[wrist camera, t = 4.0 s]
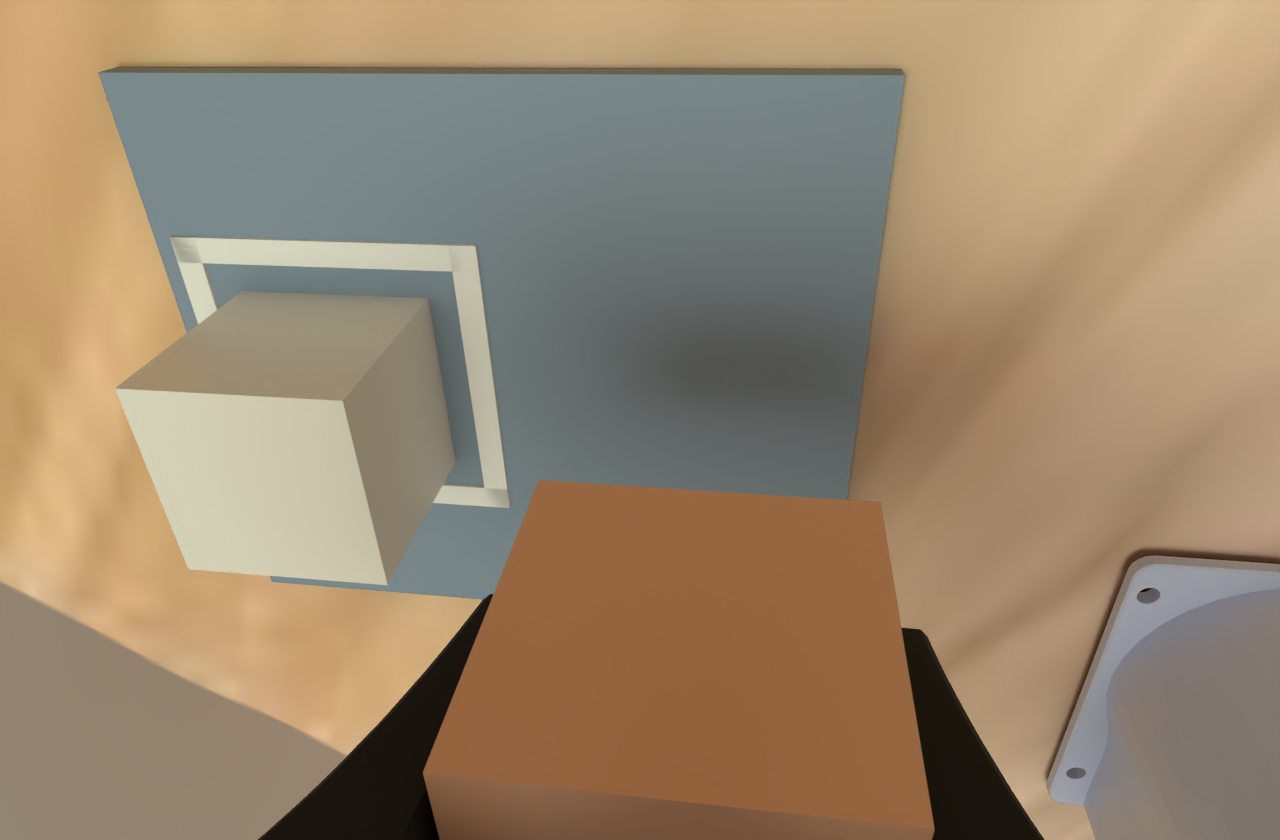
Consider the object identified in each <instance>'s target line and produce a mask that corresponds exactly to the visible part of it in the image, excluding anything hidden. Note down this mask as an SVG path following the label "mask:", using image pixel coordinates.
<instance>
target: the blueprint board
mask: <svg viewBox="0 0 1280 840" xmlns="http://www.w3.org/2000/svg"><path fill="white" fill-rule="evenodd" d="M99 76H100V79H101V82H102V85H103V88H104V91H105V94H106V97H107V100H108V103H109V106H110V108H111V111H112V114H113V117H114V120H115V123H116V126H117V129H118V132H119V135H120V138H121V141H122V144H123V147H124V150H125V152H126V155H127V158H128V161H129V164H130V167H131V170H132V173H133V176H134V179H135V182H136V185H137V188H138V191H139V194H140V196H141V199H142V202H143V205H144V208H145V211H146V214H147V217H148V220H149V223H150V226H151V229H152V232H153V235H154V238H155V240H156V243H157V246H158V249H159V252H160V255H161V258H162V261H163V264H164V267H165V270H166V273H167V276H168V279H169V282H170V284H171V287H172V290H173V293H174V296H175V299H176V302H177V305H178V308H179V311H180V314H181V317H182V320H183V323H184V326H185V328H186V331H187V333H188V332H189V331H190V330H192V329H193V328H194V327H196V326H197V325H198V324H199V323H201V322H202V321H203V320H205V319H206V318H207V317H209V316H210V315H211V314H212V313H214V312H215V311H216V310H218V309H219V308H220V307H221V306H223V305H224V304H225V303H227V302H228V301H229V300H231V299H232V298H233V297H234V296H236V295H237V294H238V293H240V292H241V291H254V292H280V293H306V294H333V295H359V296H386V297H412V298H428V301H429V307H430V313H431V318H432V324H433V330H434V336H435V342H436V348H437V354H438V360H439V366H440V372H441V378H442V384H443V390H444V396H445V402H446V408H447V414H448V420H449V426H450V432H451V438H452V444H453V450H454V456H455V461H456V462H455V464H454V466H453V467H452V469H451V471H450V473H449V475H448V476H447V478H446V480H445V482H444V484H443V486H442V487H441V489H440V491H439V493H438V495H437V496H436V498H435V500H434V502H433V504H432V506H431V507H430V509H429V511H428V513H427V515H426V516H425V518H424V520H423V522H422V524H421V526H420V527H419V529H418V531H417V533H416V535H415V536H414V538H413V540H412V542H411V544H410V546H409V547H408V549H407V551H406V553H405V555H404V556H403V558H402V560H401V562H400V564H399V566H398V567H397V569H396V571H395V573H394V575H393V576H392V578H391V580H390V582H389V584H388V585H377V584H365V583H353V582H341V581H328V580H316V579H304V578H292V577H280V576H270V578H271V581H272V582H280V583H292V584H304V585H316V586H328V587H340V588H352V589H364V590H376V591H388V592H400V593H412V594H424V595H436V596H448V597H461V598H473V599H484V598H486V597H487V596H488V595H490V594H494V592H495V589H496V587H497V584H498V582H499V579H500V577H501V574H502V572H503V569H504V567H505V564H506V562H507V559H508V557H509V554H510V552H511V549H512V547H513V544H514V541H515V539H516V536H517V534H518V531H519V529H520V526H521V524H522V521H523V519H524V516H525V514H526V511H527V509H528V506H529V504H530V501H531V499H532V496H533V494H534V491H535V489H536V486H537V484H538V481H539V480H547V481H562V482H578V483H593V484H608V485H624V486H639V487H655V488H670V489H685V490H701V491H716V492H731V493H747V494H762V495H777V496H793V497H808V498H823V499H839V500H847V495H848V488H849V481H850V473H851V466H852V459H853V452H854V444H855V437H856V430H857V422H858V415H859V408H860V401H861V393H862V386H863V379H864V372H865V364H866V357H867V350H868V343H869V335H870V328H871V321H872V314H873V306H874V299H875V292H876V285H877V277H878V270H879V263H880V256H881V248H882V241H883V234H884V226H885V219H886V212H887V205H888V197H889V190H890V183H891V176H892V168H893V161H894V154H895V147H896V139H897V132H898V125H899V118H900V110H901V103H902V96H903V89H904V81H905V74H904V73H903V71H902V70H901V69H630V68H253V67H116V68H113V69H109V70H106V71H102V72H99Z"/></svg>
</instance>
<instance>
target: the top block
mask: <svg viewBox="0 0 1280 840" xmlns="http://www.w3.org/2000/svg"><path fill="white" fill-rule="evenodd" d="M423 776H424V780H425V784H426V788H427V792H428V795H429V799H430V803H431V807H432V811H433V815H434V819H435V823H436V827H437V831H438V835H439V839H440V840H932V838H933V834H934V831H935V828H934V822H933V816H932V810H931V804H930V798H929V792H928V786H927V780H926V774H925V768H924V762H923V756H922V750H921V744H920V738H919V732H918V726H917V720H916V714H915V708H914V702H913V696H912V690H911V684H910V678H909V671H908V665H907V659H906V653H905V647H904V641H903V635H902V629H901V623H900V617H899V611H898V605H897V599H896V593H895V587H894V581H893V575H892V569H891V563H890V557H889V551H888V545H887V539H886V533H885V527H884V521H883V515H882V509H881V503H880V502H870V501H854V500H839V499H823V498H808V497H793V496H777V495H762V494H747V493H731V492H716V491H701V490H685V489H670V488H655V487H639V486H624V485H608V484H593V483H578V482H562V481H547V480H539V481H538V484H537V486H536V489H535V491H534V494H533V496H532V499H531V501H530V504H529V506H528V509H527V511H526V514H525V516H524V519H523V521H522V524H521V526H520V529H519V531H518V534H517V536H516V539H515V541H514V544H513V547H512V549H511V552H510V554H509V557H508V559H507V562H506V564H505V567H504V569H503V572H502V574H501V577H500V579H499V582H498V584H497V587H496V589H495V592H494V594H493V597H492V599H491V602H490V604H489V607H488V610H487V612H486V615H485V617H484V620H483V622H482V625H481V627H480V630H479V632H478V635H477V637H476V640H475V642H474V645H473V647H472V650H471V652H470V655H469V657H468V660H467V662H466V665H465V667H464V670H463V673H462V675H461V678H460V680H459V683H458V685H457V688H456V690H455V693H454V695H453V698H452V700H451V703H450V705H449V708H448V710H447V713H446V715H445V718H444V720H443V723H442V725H441V728H440V730H439V733H438V736H437V738H436V741H435V743H434V746H433V748H432V751H431V753H430V756H429V758H428V761H427V763H426V766H425V768H424V771H423Z"/></svg>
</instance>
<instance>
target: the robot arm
mask: <svg viewBox="0 0 1280 840" xmlns="http://www.w3.org/2000/svg"><path fill="white" fill-rule="evenodd" d="M1145 588H1152V589H1151V590H1149V591H1146V592H1140V591H1141V590H1143V589H1145ZM1139 592H1140V593H1139ZM492 597H493V594H490V595H488V596H487V597H486V598H484V599H483V600H482V602H481V603H480V604H479V606H478V607H477V608H476V609H475V611H474V612H473V613H472V615H471V616H470V617H469V618H468V620H467V621H466V622H465V623H464V625H463V626H462V627H461V628H460V630H459V631H458V632H457V633H456V635H455V636H454V637H453V638H452V640H451V641H450V642H449V643H448V645H447V646H446V647H445V648H444V649H443V651H442V652H441V653H440V654H439V655H438V657H437V658H436V659H435V660H434V661H433V663H432V664H431V665H430V666H429V667H428V669H427V670H426V671H425V672H424V673H423V674H422V676H421V677H420V678H419V679H418V680H417V681H416V682H415V684H414V685H413V686H412V687H411V688H410V689H409V690H408V691H407V693H406V694H405V695H404V696H403V697H402V698H401V699H400V701H399V702H398V703H397V704H396V705H395V706H394V707H393V708H392V710H391V711H390V712H389V713H388V714H387V715H386V716H385V717H384V718H383V719H382V721H381V722H380V723H379V724H378V725H377V726H376V727H375V728H374V729H373V730H372V731H371V732H370V733H369V734H368V735H367V736H366V737H365V738H364V739H363V740H362V741H361V742H360V743H359V744H358V745H357V747H356V748H355V749H354V750H353V751H352V752H351V753H350V754H349V755H348V756H347V757H346V758H345V759H344V760H343V761H342V762H341V763H340V764H339V765H338V766H337V767H336V768H335V769H334V770H333V771H332V772H331V773H330V774H329V775H328V776H327V777H326V778H325V779H324V780H323V781H322V782H321V783H320V784H319V785H318V786H317V787H316V788H315V789H313V790H312V791H311V793H309V794H308V795H307V796H306V797H305V798H304V799H303V800H302V801H301V802H300V803H299V804H297V805H296V806H295V807H294V808H293V809H292V810H291V811H290V812H289V813H287V814H286V815H285V816H284V817H283V818H282V819H281V820H280V821H279V822H277V823H276V824H275V825H274V826H273V827H272V828H271V829H270V830H268V831H267V832H266V833H265V834H264V835H263V836H262V837H260V838H259V839H258V840H440V839H439V835H438V831H437V827H436V823H435V819H434V815H433V811H432V807H431V803H430V799H429V795H428V792H427V788H426V784H425V780H424V776H423V771H424V768H425V766H426V763H427V761H428V758H429V756H430V753H431V751H432V748H433V746H434V743H435V741H436V738H437V736H438V733H439V730H440V728H441V725H442V723H443V720H444V718H445V715H446V713H447V710H448V708H449V705H450V703H451V700H452V698H453V695H454V693H455V690H456V688H457V685H458V683H459V680H460V678H461V675H462V673H463V670H464V667H465V665H466V662H467V660H468V657H469V655H470V652H471V650H472V647H473V645H474V642H475V640H476V637H477V635H478V632H479V630H480V627H481V625H482V622H483V620H484V617H485V615H486V612H487V610H488V607H489V604H490V602H491V599H492ZM901 629H902V635H903V641H904V647H905V653H906V659H907V665H908V671H909V678H910V684H911V690H912V696H913V702H914V708H915V714H916V720H917V726H918V732H919V738H920V744H921V750H922V756H923V762H924V768H925V774H926V780H927V786H928V792H929V798H930V804H931V810H932V816H933V822H934V828H935V831H934V834H933V838H932V840H1044V838H1043V837H1042V835H1041V834H1040V833H1039V831H1038V830H1037V828H1036V827H1035V825H1034V824H1033V822H1032V821H1031V819H1030V818H1029V816H1028V815H1027V813H1026V812H1025V810H1024V809H1023V807H1022V805H1021V804H1020V802H1019V801H1018V799H1017V798H1016V796H1015V795H1014V793H1013V792H1012V790H1011V788H1010V787H1009V785H1008V783H1007V782H1006V780H1005V778H1004V777H1003V775H1002V774H1001V772H1000V770H999V769H998V767H997V765H996V764H995V762H994V760H993V759H992V757H991V755H990V754H989V752H988V751H987V749H986V747H985V746H984V744H983V742H982V741H981V739H980V737H979V735H978V734H977V732H976V730H975V728H974V727H973V725H972V723H971V721H970V720H969V718H968V716H967V714H966V712H965V710H964V709H963V707H962V705H961V703H960V701H959V699H958V698H957V696H956V694H955V692H954V690H953V688H952V686H951V684H950V683H949V681H948V679H947V677H946V675H945V673H944V671H943V669H942V667H941V665H940V663H939V661H938V659H937V656H936V654H935V652H934V650H933V648H932V646H931V644H930V641H929V639H928V637H927V636H926V635H925V634H924V633H923V632H922V631H921V630H920V629H909V628H901ZM1046 786H1047V790H1048V793H1049V796H1050V797H1051V799H1053V800H1055V801H1056V802H1059V803H1064V804H1073V805H1083V806H1085V809H1086V812H1087V815H1088V818H1089V821H1090V824H1091V827H1092V830H1093V833H1094V836H1095V839H1096V840H1280V564H1271V563H1257V562H1243V561H1228V560H1214V559H1199V558H1185V557H1171V556H1156V555H1155V556H1145V557H1142V558H1139V559H1138V560H1136V561H1135V562H1133V563H1132V564H1131V565H1130V567H1129V568H1128V570H1127V573H1126V575H1125V578H1124V581H1123V583H1122V586H1121V588H1120V591H1119V594H1118V596H1117V599H1116V601H1115V604H1114V607H1113V609H1112V612H1111V615H1110V617H1109V620H1108V622H1107V625H1106V628H1105V630H1104V633H1103V636H1102V638H1101V641H1100V643H1099V646H1098V649H1097V651H1096V654H1095V656H1094V659H1093V662H1092V664H1091V667H1090V670H1089V672H1088V675H1087V677H1086V680H1085V683H1084V685H1083V688H1082V691H1081V693H1080V696H1079V698H1078V701H1077V704H1076V706H1075V709H1074V711H1073V714H1072V717H1071V719H1070V722H1069V725H1068V727H1067V730H1066V732H1065V735H1064V738H1063V740H1062V743H1061V746H1060V748H1059V751H1058V753H1057V756H1056V759H1055V761H1054V764H1053V766H1052V769H1051V772H1050V774H1049V777H1048V780H1047V784H1046Z"/></svg>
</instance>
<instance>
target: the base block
mask: <svg viewBox="0 0 1280 840" xmlns="http://www.w3.org/2000/svg"><path fill="white" fill-rule="evenodd" d="M115 390H116V392H117V395H118V397H119V400H120V402H121V405H122V407H123V409H124V412H125V414H126V417H127V419H128V422H129V424H130V427H131V429H132V432H133V434H134V436H135V439H136V441H137V444H138V446H139V449H140V451H141V454H142V456H143V459H144V461H145V463H146V466H147V468H148V471H149V473H150V476H151V478H152V481H153V483H154V486H155V488H156V490H157V493H158V495H159V498H160V500H161V503H162V505H163V508H164V510H165V513H166V515H167V517H168V520H169V522H170V525H171V527H172V530H173V532H174V535H175V537H176V540H177V542H178V544H179V547H180V549H181V552H182V554H183V557H184V559H185V562H186V564H187V567H188V569H195V570H207V571H219V572H231V573H243V574H255V575H268V576H280V577H292V578H304V579H316V580H328V581H341V582H353V583H365V584H377V585H388V584H389V582H390V580H391V578H392V576H393V575H394V573H395V571H396V569H397V567H398V566H399V564H400V562H401V560H402V558H403V556H404V555H405V553H406V551H407V549H408V547H409V546H410V544H411V542H412V540H413V538H414V536H415V535H416V533H417V531H418V529H419V527H420V526H421V524H422V522H423V520H424V518H425V516H426V515H427V513H428V511H429V509H430V507H431V506H432V504H433V502H434V500H435V498H436V496H437V495H438V493H439V491H440V489H441V487H442V486H443V484H444V482H445V480H446V478H447V476H448V475H449V473H450V471H451V469H452V467H453V466H454V464H455V462H456V461H455V456H454V450H453V444H452V438H451V432H450V426H449V420H448V414H447V408H446V402H445V396H444V390H443V384H442V378H441V372H440V366H439V360H438V354H437V348H436V342H435V336H434V330H433V324H432V318H431V313H430V307H429V301H428V298H412V297H386V296H359V295H333V294H306V293H280V292H254V291H241V292H240V293H238V294H237V295H236V296H234V297H233V298H232V299H231V300H229V301H228V302H227V303H225V304H224V305H223V306H221V307H220V308H219V309H218V310H216V311H215V312H214V313H212V314H211V315H210V316H209V317H207V318H206V319H205V320H203V321H202V322H201V323H199V324H198V325H197V326H196V327H194V328H193V329H192V330H190V331H189V332H188V333H186V334H185V335H184V336H183V337H181V338H180V339H179V340H177V341H176V342H175V343H173V344H172V345H171V346H170V347H168V348H167V349H166V350H164V351H163V352H162V353H161V354H159V355H158V356H157V357H155V358H154V359H153V360H151V361H150V362H149V363H148V364H146V365H145V366H144V367H142V368H141V369H140V370H138V371H137V372H136V373H135V374H133V375H132V376H131V377H129V378H128V379H127V380H125V381H124V382H123V383H122V384H120V385H119V386H118V387H116V388H115Z"/></svg>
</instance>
